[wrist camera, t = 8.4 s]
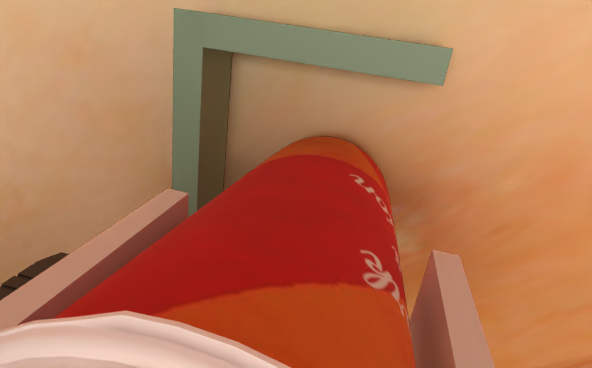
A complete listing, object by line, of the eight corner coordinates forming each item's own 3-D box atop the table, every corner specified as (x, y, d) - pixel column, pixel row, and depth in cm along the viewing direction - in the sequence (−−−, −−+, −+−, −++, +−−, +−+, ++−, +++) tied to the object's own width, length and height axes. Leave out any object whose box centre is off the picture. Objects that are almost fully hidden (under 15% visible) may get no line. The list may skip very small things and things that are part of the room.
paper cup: (375, 294, 18) (340, 925, 5) (226, 237, 19) (-123, 662, 6) (447, 142, 15) (806, 797, 2) (264, 81, 16) (-305, 276, 3)
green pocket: (198, 265, 22) (171, 298, 19) (209, 13, 17) (173, 7, 14) (371, 310, 20) (368, 353, 18) (441, 46, 15) (453, 48, 12)
